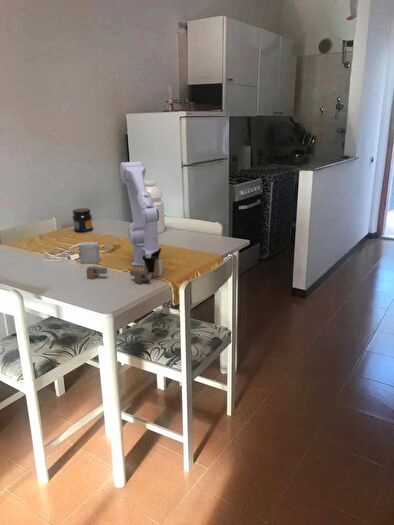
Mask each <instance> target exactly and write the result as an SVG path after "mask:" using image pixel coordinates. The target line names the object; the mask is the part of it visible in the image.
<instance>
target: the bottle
mask: <svg viewBox="0 0 394 525" xmlns="http://www.w3.org/2000/svg"><path fill="white" fill-rule="evenodd" d="M144 182H145V187H146V191H147V192H149V193H150V195H151V198H152V201H153V204H154V205H156V207H157V208H158V211H159V221H157V224H158V235H159V234H162V233H164V232H165V229H166V227H165V212H164V207H165V205H164V201H163V200H162V198H163V194H162V191H161V190H160V188H159V187H158V186H157V185H156V184H157V183H156V180H151V179H150V180H149V179H147V180H144ZM139 229H143V228H139Z"/></svg>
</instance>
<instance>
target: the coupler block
mask: <svg viewBox="0 0 394 525" xmlns="http://www.w3.org/2000/svg"><path fill="white" fill-rule="evenodd" d="M142 267H143V268H142V270H143V271H147V272H148V269H147V266H146V263H145V262H144V261H143V266H142ZM163 273H164V272H163V259H162V258H161V259H156V261H155V268H154V273H151V277H161V276H162V275H163Z"/></svg>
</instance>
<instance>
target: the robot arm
mask: <svg viewBox="0 0 394 525" xmlns="http://www.w3.org/2000/svg"><path fill="white" fill-rule="evenodd" d="M119 172H120V173H119V174H120V180H121V183H122V184H125V186H126V189H127V194H128V198H129V199H128V200H129V205H130V211H131V216H132V223H131V224H130V225H129V226H128V227H127V238H128V239H127V240H128V241H129V244H130V245H132V250H133V261H132V262H131V263H130V266H134V267H135V266H141V267H143V261H144V262H145V263H146V266H147V269H148V272H149V273H154V268H155V261H156V259H159V258H160V257H159V256H160V254H161V251H162V248H161V247H160V246H159V244H160V243H159V234H158V224H157V221H159V211H158V208H157V207H156V205H154V204H153V201H152V198H151V195H150V193H149V192H147V191H146V187H145V182H144V181H145V179H144V178H145V176H146V173H147V171H146V164H145V162H144V161H143V160H139V161H126V162H124V161H122V162H121V163H120V164H119ZM139 228H143V229H139Z"/></svg>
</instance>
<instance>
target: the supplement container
mask: <svg viewBox="0 0 394 525" xmlns="http://www.w3.org/2000/svg"><path fill="white" fill-rule="evenodd" d="M92 217H93V215H92V214H91V209H90V208H87V207H81V208H75V209H73V210H72V221H73V222H72V223H73V231H75V232H76V233H81V234H83V233H89V232H91V231H93V230H94V226H93V225H94V224H93V219H92Z"/></svg>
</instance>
